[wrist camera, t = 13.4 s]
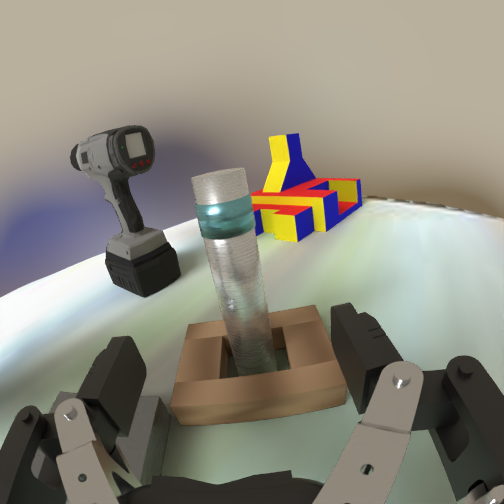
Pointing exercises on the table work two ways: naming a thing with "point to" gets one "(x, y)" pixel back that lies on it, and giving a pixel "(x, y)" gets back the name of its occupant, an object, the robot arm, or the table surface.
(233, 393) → the rack block
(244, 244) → the clear test tube
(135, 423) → the grey flat square frame
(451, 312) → the table surface
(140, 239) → the cordless drill
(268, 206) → the building blocks toy
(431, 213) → the table surface
